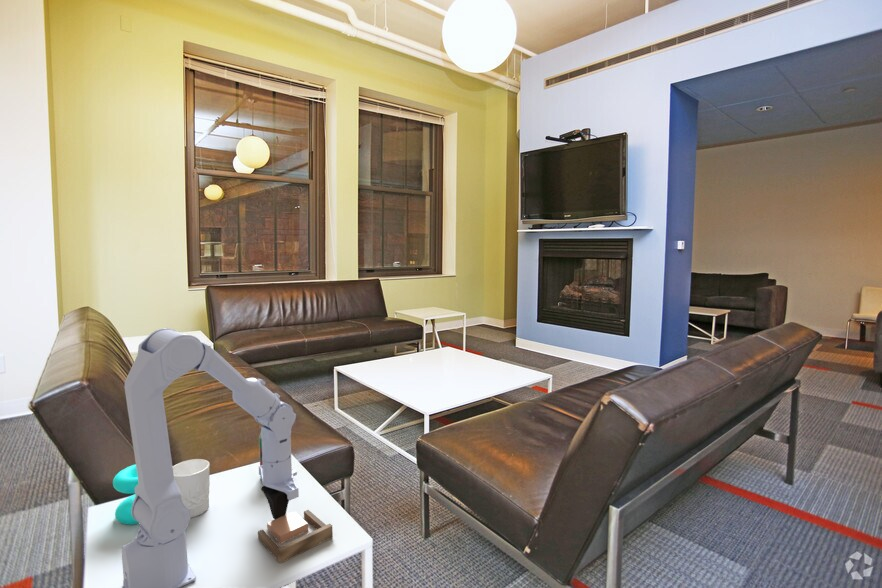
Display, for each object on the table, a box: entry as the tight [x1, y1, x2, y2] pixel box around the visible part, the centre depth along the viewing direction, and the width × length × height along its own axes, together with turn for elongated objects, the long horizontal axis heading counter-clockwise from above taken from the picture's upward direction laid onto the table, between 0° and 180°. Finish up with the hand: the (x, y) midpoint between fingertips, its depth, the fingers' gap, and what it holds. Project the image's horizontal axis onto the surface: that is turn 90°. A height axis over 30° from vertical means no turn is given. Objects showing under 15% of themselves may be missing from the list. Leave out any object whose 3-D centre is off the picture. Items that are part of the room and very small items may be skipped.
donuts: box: [112, 463, 140, 525], centre depth 100 cm, size 10×10×10 cm
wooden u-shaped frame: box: [257, 509, 334, 564], centre depth 92 cm, size 11×10×2 cm
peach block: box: [266, 510, 309, 545], centre depth 95 cm, size 6×6×2 cm
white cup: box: [172, 458, 210, 519], centre depth 101 cm, size 8×8×10 cm
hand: (279, 517), depth 97 cm, fingers closed
